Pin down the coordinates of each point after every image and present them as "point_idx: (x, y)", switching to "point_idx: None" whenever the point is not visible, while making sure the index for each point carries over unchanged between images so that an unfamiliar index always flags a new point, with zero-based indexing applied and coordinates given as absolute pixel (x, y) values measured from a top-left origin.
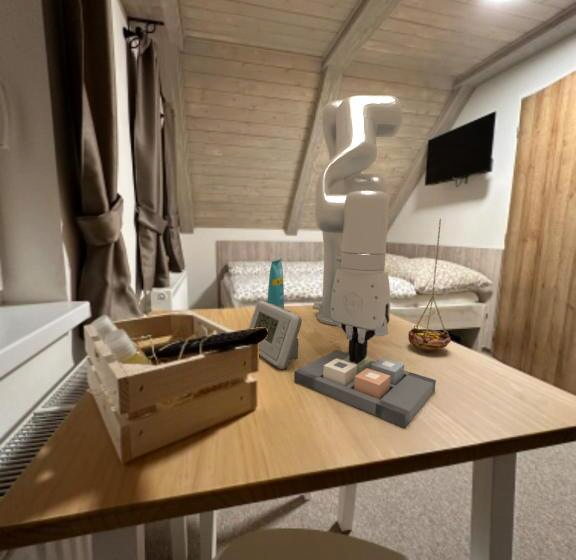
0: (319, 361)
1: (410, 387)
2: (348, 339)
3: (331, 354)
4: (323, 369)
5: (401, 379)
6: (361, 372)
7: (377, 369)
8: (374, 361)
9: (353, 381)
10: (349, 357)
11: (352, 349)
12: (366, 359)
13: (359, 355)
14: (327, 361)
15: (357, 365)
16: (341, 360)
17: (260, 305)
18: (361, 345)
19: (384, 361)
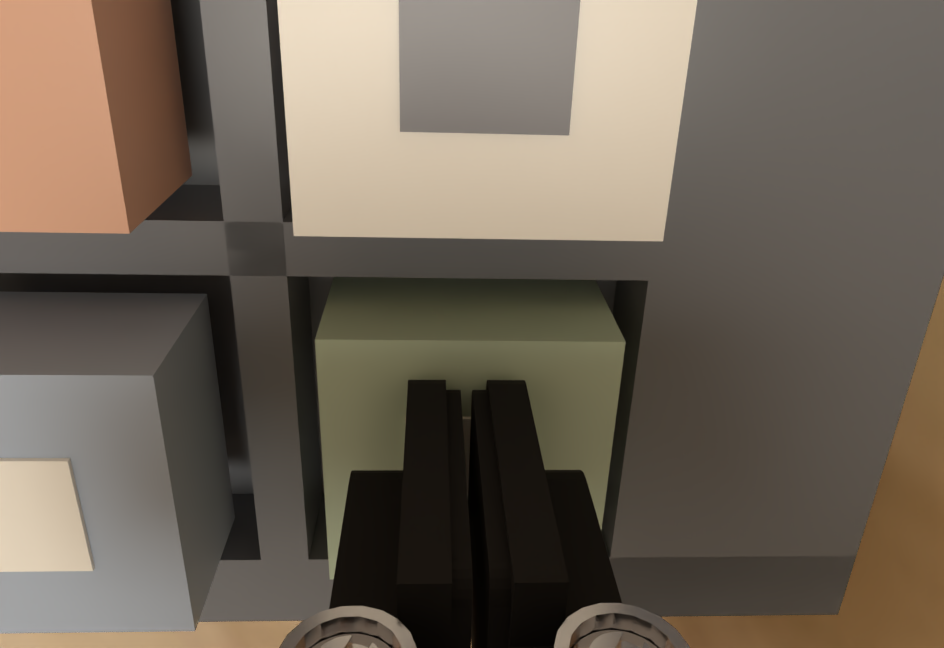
0: (898, 230)
1: None
2: (624, 609)
3: (837, 486)
4: (756, 51)
5: None
6: (82, 24)
7: (72, 353)
8: None
9: (256, 6)
10: (527, 399)
11: (500, 485)
12: None
13: (401, 479)
14: (806, 298)
15: (382, 343)
16: (563, 218)
17: None
18: (367, 601)
19: (103, 562)
